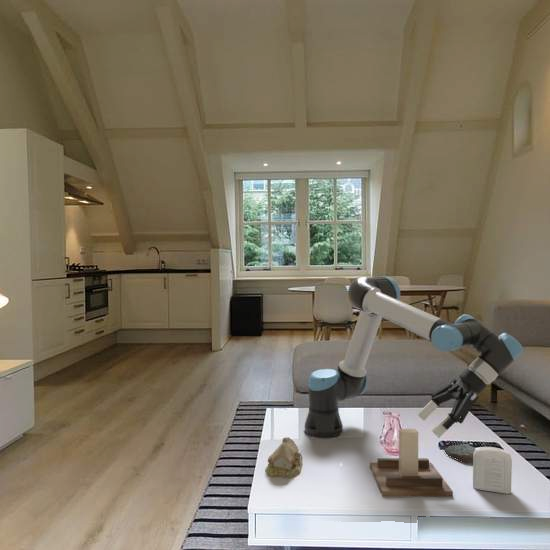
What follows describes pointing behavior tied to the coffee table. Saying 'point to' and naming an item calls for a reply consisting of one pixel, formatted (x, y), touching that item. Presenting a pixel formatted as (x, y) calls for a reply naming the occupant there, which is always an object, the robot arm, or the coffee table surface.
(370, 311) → the robot arm
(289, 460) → the ceramic model
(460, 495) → the coffee table surface
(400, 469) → the beige rectangular block
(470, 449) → the fossil
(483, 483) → the white upright flat block
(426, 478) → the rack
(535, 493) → the coffee table surface
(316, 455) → the coffee table surface
